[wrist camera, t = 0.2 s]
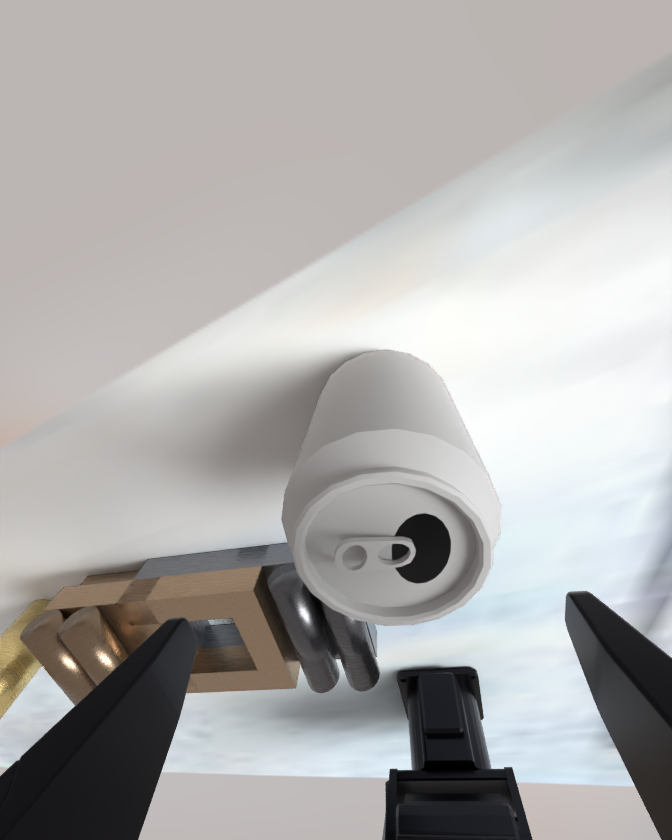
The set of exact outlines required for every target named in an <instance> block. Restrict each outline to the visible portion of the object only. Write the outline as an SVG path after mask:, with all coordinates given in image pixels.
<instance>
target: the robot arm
mask: <svg viewBox="0 0 672 840" xmlns="http://www.w3.org/2000/svg"><path fill="white" fill-rule="evenodd" d="M565 622H566V626H567V630H568V632H569V635H570V638H571V640H572V643H573V646H574V648H575V651H576V654H577V656H578V659H579V661H580V664H581V667H582V669H583V672H584V675H585V677H586V680H587V683H588V685H589V688H590V691H591V693H592V696H593V698H594V701H595V703H596V706H597V708H598V711H599V713H600V715H601V717H602V719H603V721H604V724H605V726H606V728H607V730H608V732H609V734H610V736H611V738H612V740H613V742H614V744H615V746H616V748H617V750H618V752H619V754H620V756H621V758H622V760H623V762H624V764H625V766H626V768H627V770H628V772H629V774H630V776H631V778H632V780H633V783H634V785H635V787H636V789H637V791H638V793H639V795H640V797H641V799H642V801H643V803H644V805H645V807H646V809H647V811H648V813H649V815H650V817H651V819H652V821H653V823H654V825H655V827H656V829H657V831H658V833H659V835H660V837H661V839H662V840H672V658H671V657H670V656H669V655H667V654H666V653H665V652H664V651H662V650H661V649H660V648H659V647H657V646H656V645H655V644H654V643H652V642H651V641H650V640H649V639H648V638H646V637H645V636H644V635H643V634H641V633H640V632H639V631H638V630H636V629H635V628H634V627H633V626H631V625H630V624H629V623H628V622H626V621H625V620H624V619H623V618H621V617H620V616H619V615H618V614H616V613H615V612H614V611H613V610H611V609H610V608H609V607H608V606H606V605H605V604H604V603H603V602H601V601H600V600H599V599H598V598H596V597H595V596H594V595H593V594H591V593H590V592H587V591H574V592H568V593H567V595H566V607H565ZM196 651H197V637H196V635H195V633H194V631H193V629H192V627H191V626H190V624H189V622H188V620H187V619H186V618H185V617H175V618H170V619H168V620H167V621H165V622H164V623H163V624H162V625H161V626H160V627H159V628H158V629H157V630H156V631H155V632H154V633H153V634H152V635H150V636H149V637H148V638H147V639H146V640H145V641H144V642H143V643H142V644H141V645H140V646H139V647H138V648H137V649H136V650H134V651H133V652H132V653H131V654H130V655H129V656H128V657H127V658H126V659H125V660H124V661H123V662H122V663H121V664H120V665H118V666H117V667H116V668H115V669H114V670H113V671H112V672H111V673H110V674H109V675H108V676H107V677H106V678H105V679H104V680H102V681H101V682H100V683H99V684H98V685H97V686H96V687H95V688H94V689H93V690H92V691H91V692H90V693H89V694H88V695H86V696H85V697H84V698H83V699H82V700H81V701H80V702H79V703H78V704H77V705H76V706H75V707H74V708H73V709H72V710H70V711H69V712H68V713H67V714H66V715H65V716H64V717H63V718H62V719H61V720H60V721H59V722H58V723H57V724H56V725H54V726H53V727H52V728H51V729H50V730H49V731H48V732H47V733H46V734H45V735H44V736H43V737H42V738H41V739H39V740H38V741H37V742H36V743H35V744H34V745H33V746H32V747H31V748H30V749H29V750H28V751H27V752H26V753H25V754H23V755H22V756H21V758H20V760H18V761H16V762H15V763H14V764H13V765H12V766H11V767H9V768H8V769H7V770H6V771H5V772H4V773H3V774H2V775H1V776H0V840H138V838H139V835H140V832H141V829H142V827H143V824H144V821H145V817H146V815H147V812H148V809H149V806H150V803H151V800H152V797H153V794H154V791H155V788H156V785H157V782H158V779H159V777H160V774H161V771H162V768H163V765H164V762H165V759H166V756H167V753H168V750H169V747H170V744H171V741H172V738H173V736H174V733H175V730H176V727H177V724H178V720H179V717H180V714H181V710H182V707H183V703H184V699H185V695H186V691H187V687H188V683H189V679H190V675H191V671H192V667H193V663H194V659H195V655H196ZM397 681H398V684H399V688H400V692H401V696H402V699H403V703H404V707H405V711H406V714H407V718H408V721H409V733H410V748H411V763H412V770H397V769H390V775H389V781H387V782H386V814H385V823H384V830H383V838H382V840H532V837H531V833H530V829H529V826H528V822H527V819H526V815H525V812H524V808H523V804H522V801H521V798H520V794H519V790H518V787H517V783H516V780H515V776H514V773H513V769H512V767H504V769H491V765H490V760H489V755H488V751H487V746H486V742H485V737H484V732H483V728H482V723H481V720H482V719H483V718H484V717H483V709H482V702H481V694H480V687H479V679H478V674H477V671H476V670H475V669H472V668H468V669H448V670H428V671H408V672H400V673H398V674H397Z"/></svg>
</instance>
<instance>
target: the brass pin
mask: <svg viewBox="0 0 672 840" xmlns="http://www.w3.org/2000/svg"><path fill="white" fill-rule="evenodd" d="M50 602H51V601H49V600H36V601H34V602H33V603H31V604H30V605H29V607H28V608H27V609H26V610H25V611H24V612H23V613H22V614H21V615H20V616H19V617H18V618H17V619H16V620H15V621H14V622H13V623H12V624H11V625H10V626H9V628H8V629H7V630H6V631H5V632H4V633H3V634H2V635H1V636H0V719H1V717H2V716H3V715H4V714H5V712H6V711H7V710H8V708H9V707H10V706H11V705H12V703H13V702H14V701H15V700H16V698H17V697H18V696H19V695H20V693H21V692H22V691H23V689H24V688H25V687H26V686H27V684H28V683H29V682H30V681H31V679H32V678H33V677H34V675H35V674H36V673H37V672H38V670H39V669H40V668H41V667H42V665H41V664H40V663H39V661H38V660H37V659H36V658H35V657H34V655H33V654H32V653H31V652H30V650H29V649H28V648H27V647H26V646H25V644H24V643H23V642H22V641H21V639H20V635H21V633H22V631H23V630H24V628H25V627H26V626H27V625H28V624H29V623H30V622H31V621H32V620H34V619H35V618H36V617H38V616H39V615H41V614H43V613H44V612H43V610H44V608H45V607H46V606H47V605H48V604H49V603H50Z"/></svg>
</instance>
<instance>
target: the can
mask: <svg viewBox="0 0 672 840" xmlns="http://www.w3.org/2000/svg"><path fill="white" fill-rule="evenodd" d="M282 523H283V527H284V531H285V534H286V538H287V542H288V545H289V547H290V548H291V553H292V557H293V560H294V564H295V568H296V572H297V574H298V575H299V577H300V578H301V579H302V581H303V582H304V584H305V585H306V587H307V588H308V589H309V591H310V592H311V593H312V594H313V595H314V596H316V597H317V598H318V599H320V600H321V601H322V602H323V603H325V604H326V605H327V606H328V607H330V608H331V609H333V610H335V611H337V612H339V613H342V614H344V615H346V616H348V617H351V618H353V619H355V620H358V621H363V622H368V623H373V624H378V625H384V626H393V625H415V624H419V623H423V622H427V621H431V620H435V619H439V618H441V617H443V616H445V615H447V614H449V613H451V612H452V611H454V610H456V609H458V608H460V607H462V606H464V605H465V604H466V603H467V602H468V601H469V600H470V599H471V598H472V597H473V596H474V595H475V594H476V593H477V592H478V591H479V590H480V589H481V588H482V587H483V585H484V583H485V581H486V579H487V576H488V574H489V572H490V570H491V568H492V566H493V549H494V547H495V544H496V542H497V540H498V538H499V536H500V533H501V503H500V501H499V498H498V496H497V493H496V491H495V489H494V486H493V484H492V481H491V479H490V476H489V474H488V472H487V470H486V468H485V466H484V464H483V462H482V460H481V458H480V456H479V453H478V451H477V449H476V447H475V445H474V443H473V441H472V439H471V437H470V435H469V433H468V431H467V429H466V426H465V424H464V422H463V420H462V418H461V416H460V414H459V412H458V410H457V408H456V406H455V404H454V402H453V399H452V397H451V395H450V393H449V391H448V389H447V387H446V385H445V383H444V381H443V379H442V378H441V377H440V376H439V375H438V374H437V373H436V371H435V370H434V369H433V368H432V367H431V366H430V365H429V364H428V363H426V362H424V361H422V360H420V359H418V358H417V357H415V356H413V355H411V354H409V353H403V352H398V351H392V350H381V351H373V352H365V353H363V354H361V355H359V356H357V357H354V358H352V359H350V360H348V361H346V362H345V363H343V364H342V365H341V366H340V367H339V368H338V369H337V370H336V371H335V372H334V373H333V374H332V375H331V376H330V377H329V379H328V381H327V383H326V385H325V387H324V388H323V390H322V392H321V394H320V397H319V400H318V403H317V405H316V408H315V411H314V414H313V416H312V419H311V422H310V425H309V427H308V430H307V433H306V436H305V438H304V441H303V444H302V447H301V449H300V452H299V455H298V457H297V460H296V463H295V466H294V468H293V471H292V474H291V477H290V479H289V482H288V485H287V488H286V490H285V495H284V503H283V511H282Z"/></svg>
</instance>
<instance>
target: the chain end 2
mask: <svg viewBox="0 0 672 840" xmlns="http://www.w3.org/2000/svg"><path fill="white" fill-rule="evenodd" d="M258 566H262V568H263V571H264V573H265V575H266V578H267V580H268V587H269V589H270V592H271V594H272V597H273V599H274V602H275V604H276V606H277V609H278V611H279V614H280V616H281V618H282V621H283V623H284V626H285V628H286V631H287V633H288V635H289V638H290V640H291V643H292V645H293V647H294V650H295V652H296V655H297V657H298V660H299V662H300V664H301V667H302V669H303V672H304V674H305V676H306V679H307V681H308V684H309V686H310V688H311V689H312V690H313V691H315V692H317V693H324V692H327V691H329V690H331V689H332V688H333V687H334V686H335V685H336V683H337V682H338V679H339V668H338V666H337V663H336V660H335V659H341V662H342V665H343V668H344V671H345V674H346V677H347V679H348V682H349V684H350V686H351V687H352V688H354V689H355V690H358V691H367V690H369V689H371V688H372V687H374V686H375V684H376V683H377V681H378V679H379V674H380V672H379V667H378V663H377V660H376V657H377V631H376V628H375V624H373V623H368V622H363V621H358V620H355V619H353V618H351V617H348V616H346V615H344V614H342V613H339V612H337V611H335V610H333V609H331V608H330V607H328V606H327V605H326V604H325V603H323V602H322V601H321V600H320V599H318V598H317V597H316V596H314V595H313V594H312V593H311V592H310V591H309V589H308V588H307V587H306V585H305V584H304V582H303V581H302V579H301V578H300V577H299V575H298V574H297V572H296V568H295V564H294V560H293V557H292V553H291V548H290V547H289V545H288V543H282V544H274V545H265V546H257V547H248V548H240V549H231V550H223V551H214V552H206V553H197V554H189V555H180V556H172V557H164V558H155V559H148V560H147V561H146V563H145V564H144V565H143V567H142V568H141V569H140V571H139V572H138V574H137V575H136V576H135V578H134V579H133V580H138V579H147V578H156V577H165V576H175V575H184V574H193V573H203V572H212V571H221V570H230V569H240V568H249V567H258ZM188 622H189V624H190V626H191V627H192V629H193V631H194V633H195V635H196V637H197V643H198V645H199V647H200V648H214V647H229V646H243V645H245V643H244V641H243V639H242V637H241V635H240V632H239V630H238V628H237V626H236V624H224V625H212V626H210V624H209V622H208V621H207V620H198V621H188Z"/></svg>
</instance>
